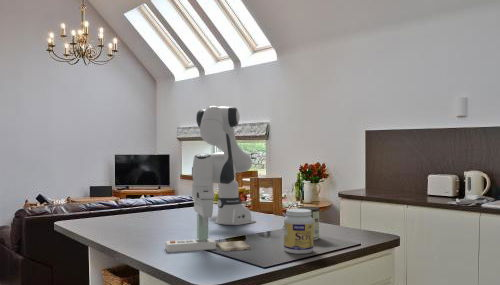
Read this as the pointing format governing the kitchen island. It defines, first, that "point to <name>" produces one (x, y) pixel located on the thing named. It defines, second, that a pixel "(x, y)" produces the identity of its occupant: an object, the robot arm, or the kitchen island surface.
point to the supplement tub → (298, 231)
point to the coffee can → (316, 220)
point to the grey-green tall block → (201, 228)
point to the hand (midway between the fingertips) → (202, 225)
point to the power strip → (190, 245)
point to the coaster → (233, 245)
